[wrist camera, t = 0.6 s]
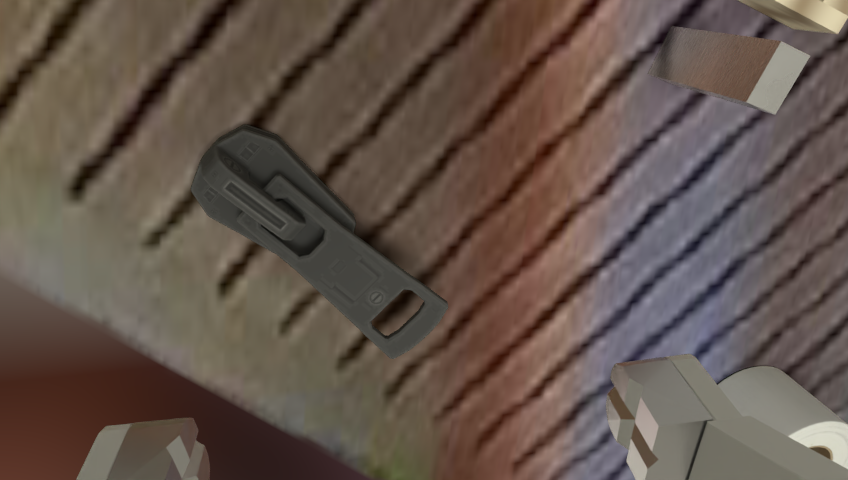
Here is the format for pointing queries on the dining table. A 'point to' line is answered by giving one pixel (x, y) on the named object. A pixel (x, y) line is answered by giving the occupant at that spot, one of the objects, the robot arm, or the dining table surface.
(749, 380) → the toilet paper roll
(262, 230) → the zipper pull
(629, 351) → the dining table surface
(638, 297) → the dining table surface
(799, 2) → the hollow cinder block
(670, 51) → the grey square pillar
